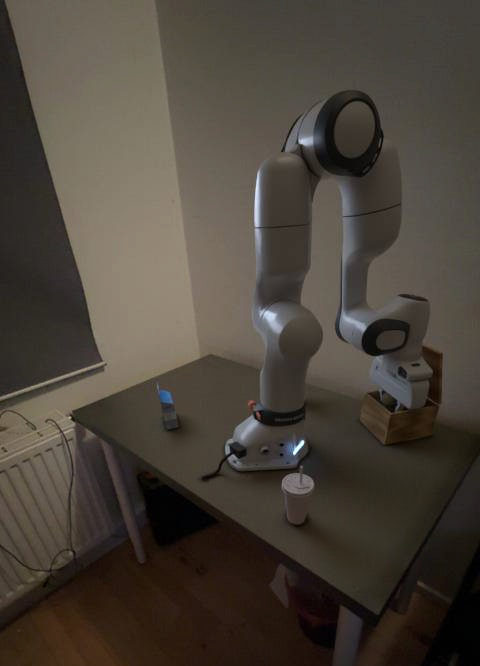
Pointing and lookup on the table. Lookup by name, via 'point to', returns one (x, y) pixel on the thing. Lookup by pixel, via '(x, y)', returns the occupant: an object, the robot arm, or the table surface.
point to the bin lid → (434, 372)
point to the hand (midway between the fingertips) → (390, 408)
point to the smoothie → (297, 495)
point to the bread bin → (397, 420)
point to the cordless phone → (168, 409)
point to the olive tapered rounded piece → (389, 402)
